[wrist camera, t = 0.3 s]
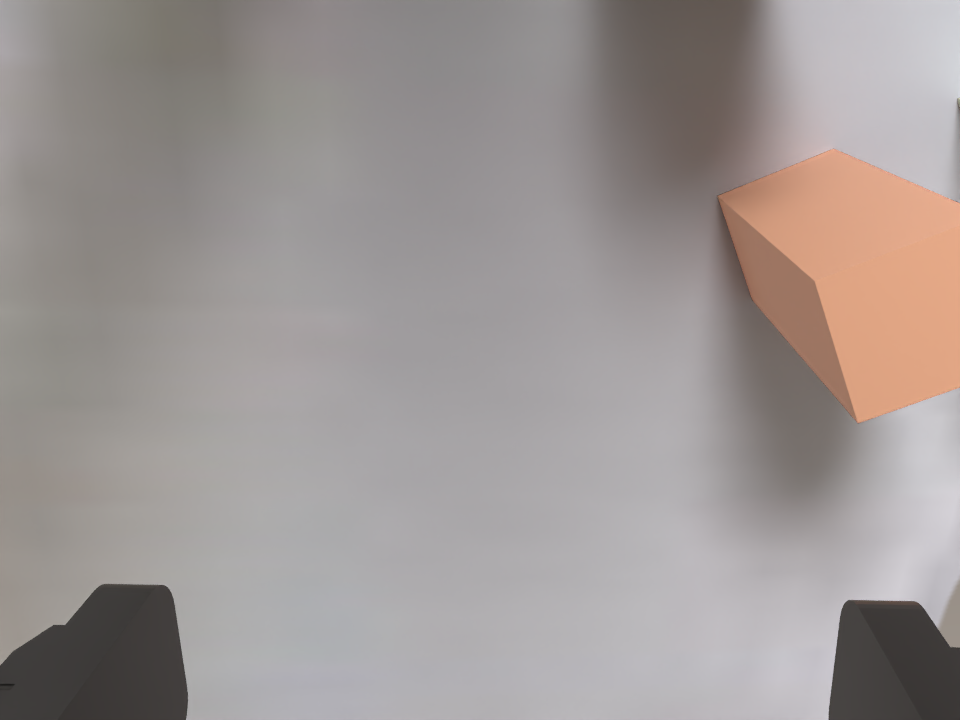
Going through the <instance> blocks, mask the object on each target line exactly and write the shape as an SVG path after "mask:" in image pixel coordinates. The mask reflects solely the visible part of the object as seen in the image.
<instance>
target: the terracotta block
mask: <svg viewBox="0 0 960 720" xmlns="http://www.w3.org/2000/svg"><path fill="white" fill-rule="evenodd" d="M718 199H719V202H720V205H721V208H722V211H723V214H724V217H725V220H726V223H727V226H728V229H729V232H730V235H731V238H732V241H733V244H734V247H735V250H736V253H737V256H738V259H739V262H740V265H741V268H742V271H743V274H744V277H745V280H746V283H747V286H748V289H749V292H750V295H751V298H752V300H753V302H754V303H755V304H756V305H757V306H758V307H759V309H760V310H761V311H762V312H763V313H764V314H765V316H766V317H767V318H768V319H769V320H770V321H771V323H772V324H773V325H774V326H775V327H776V328H777V330H778V331H779V332H780V333H781V334H782V335H783V337H784V338H785V339H786V340H787V341H788V342H789V344H790V345H791V346H792V347H793V348H794V349H795V351H796V352H797V353H798V354H799V355H800V356H801V358H802V359H803V360H804V361H805V362H806V363H807V365H808V366H809V367H810V368H811V369H812V370H813V372H814V373H815V374H816V375H817V376H818V377H819V379H820V380H821V381H822V382H823V383H824V384H825V386H826V387H827V388H828V389H829V390H830V391H831V393H832V394H833V395H834V396H835V397H836V398H837V400H838V401H839V402H840V403H841V404H842V405H843V407H844V408H845V409H846V410H847V411H848V412H849V413H850V415H851V416H852V417H853V418H854V419H855V420H856V422H857V423H861V422H863V421H866V420H869V419H872V418H875V417H878V416H880V415H883V414H886V413H889V412H892V411H895V410H897V409H900V408H903V407H906V406H909V405H912V404H914V403H917V402H920V401H923V400H926V399H928V398H931V397H934V396H937V395H940V394H943V393H945V392H948V391H951V390H954V389H957V388H960V203H958V202H955V201H953V200H951V199H949V198H946V197H944V196H942V195H939V194H937V193H935V192H932V191H930V190H928V189H926V188H923V187H921V186H919V185H916V184H914V183H912V182H909V181H907V180H905V179H902V178H900V177H898V176H896V175H893V174H891V173H889V172H886V171H884V170H882V169H879V168H877V167H875V166H873V165H870V164H868V163H866V162H863V161H861V160H859V159H856V158H854V157H852V156H850V155H847V154H845V153H843V152H840V151H838V150H836V149H832V150H829V151H827V152H824V153H822V154H820V155H817V156H815V157H812V158H810V159H807V160H805V161H802V162H800V163H797V164H795V165H792V166H790V167H787V168H785V169H782V170H780V171H778V172H775V173H773V174H770V175H768V176H765V177H763V178H760V179H758V180H755V181H753V182H750V183H748V184H745V185H743V186H741V187H738V188H736V189H733V190H731V191H728V192H726V193H723V194H721V195H718Z"/></svg>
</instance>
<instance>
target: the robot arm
mask: <svg viewBox="0 0 960 720" xmlns="http://www.w3.org/2000/svg"><path fill="white" fill-rule="evenodd" d="M187 706H188V692H187V684H186V677H185V671H184V664H183V658H182V651H181V644H180V638H179V631H178V625H177V618H176V611H175V605H174V600H173V596H172V594H171V592H170V590H169V589H168V587H166V586H164V585H131V584H103V585H101V586H99V587H98V588H97V589H96V590H95V591H94V592H93V593H92V594H91V595H90V597H89V598H88V599H87V600H86V601H85V602H84V604H83V605H82V606H81V607H80V608H79V610H78V611H77V612H76V613H75V614H74V615H73V617H72V618H71V619H70V620H69V621H68V622H67V624H66V625H53V626H52V627H50V628H48V629H47V630H45V631H44V632H42V633H41V634H39V635H38V636H36V637H35V638H33V639H32V640H30V641H28V642H27V643H25V644H24V645H22V646H21V647H19V648H18V649H16V650H15V651H13V652H12V653H11V654H10V655H9V657H8V658H7V659H6V660H5V661H4V662H3V663H2V664H1V665H0V720H186V716H187ZM829 720H960V648H954V647H952V648H951V647H950V646H949V645H948V643H947V642H946V641H945V639H944V637H943V636H942V635H941V633H940V632H939V630H938V629H937V627H936V626H935V624H934V623H933V621H932V620H931V618H930V617H929V616H928V614H927V613H926V611H925V610H924V608H923V607H922V606H921V605H920V604H919V603H917V602H915V601H869V600H848V601H847V602H846V603H845V604H844V606H843V608H842V611H841V616H840V622H839V631H838V639H837V647H836V656H835V664H834V672H833V681H832V689H831V697H830V705H829Z"/></svg>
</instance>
